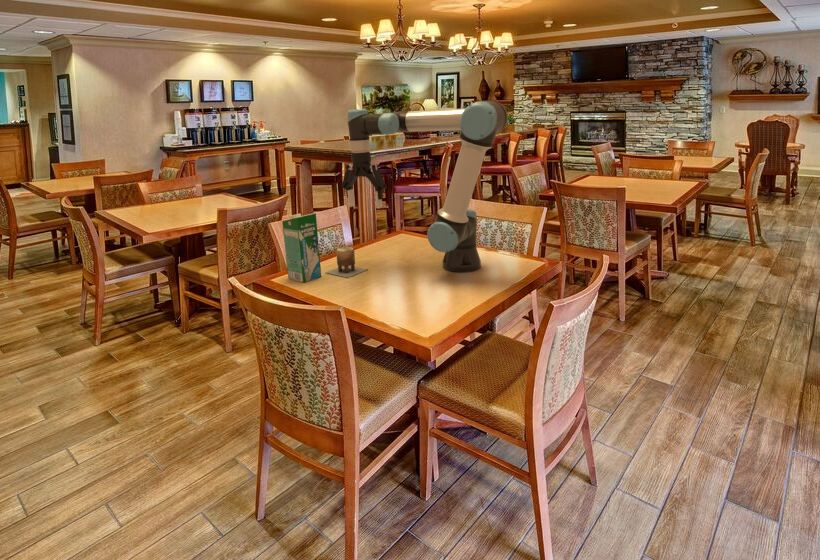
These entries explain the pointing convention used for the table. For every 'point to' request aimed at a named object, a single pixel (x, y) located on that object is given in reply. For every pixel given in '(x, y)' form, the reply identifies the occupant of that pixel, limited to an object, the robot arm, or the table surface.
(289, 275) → the milk carton
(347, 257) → the footstool
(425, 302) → the table surface
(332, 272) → the mat
